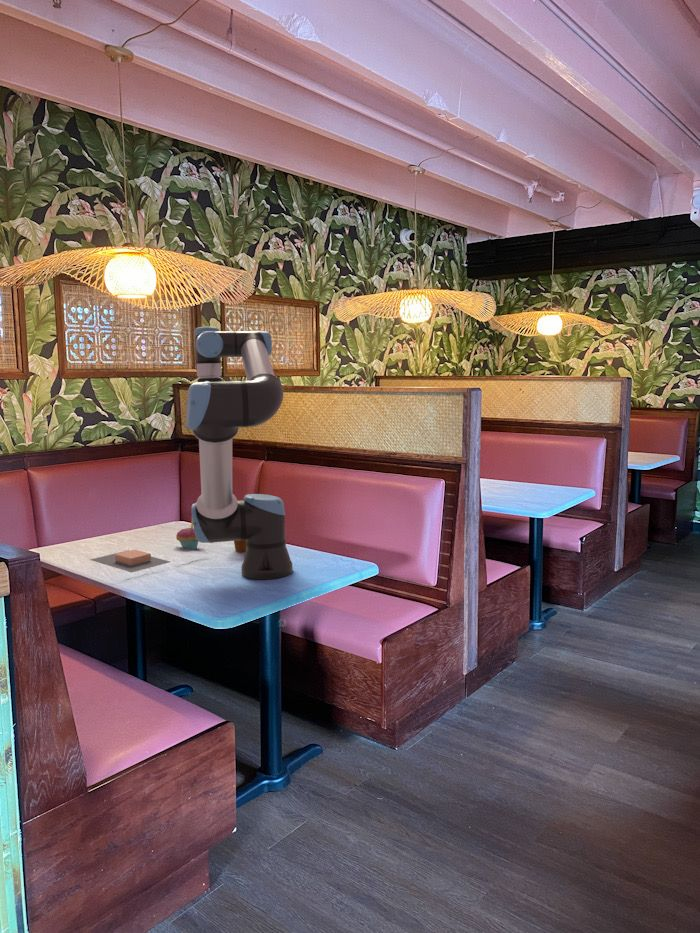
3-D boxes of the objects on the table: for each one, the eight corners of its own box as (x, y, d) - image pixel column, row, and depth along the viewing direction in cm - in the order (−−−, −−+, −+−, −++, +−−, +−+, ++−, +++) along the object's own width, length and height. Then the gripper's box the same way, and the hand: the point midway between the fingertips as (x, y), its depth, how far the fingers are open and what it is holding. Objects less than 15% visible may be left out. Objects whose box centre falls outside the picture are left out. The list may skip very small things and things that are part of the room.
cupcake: (204, 545, 240) (203, 511, 238) (199, 551, 231) (197, 516, 230) (180, 545, 240) (178, 512, 238) (173, 552, 231) (171, 517, 230)
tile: (135, 556, 222) (151, 561, 216) (115, 561, 217) (131, 566, 211) (134, 549, 222) (150, 553, 216) (114, 554, 217) (130, 558, 211)
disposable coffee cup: (242, 545, 239) (241, 511, 237) (264, 548, 234) (263, 513, 232) (224, 551, 231) (222, 516, 229) (246, 554, 226) (245, 518, 224)
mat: (171, 564, 216) (171, 561, 216) (131, 575, 205) (131, 572, 205) (128, 553, 231) (128, 550, 231) (89, 562, 220) (89, 559, 220)
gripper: (232, 376, 213) (236, 452, 216) (206, 377, 222) (209, 450, 225) (213, 377, 208) (217, 455, 211) (186, 378, 216) (191, 452, 219)
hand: (213, 452), depth 218 cm, fingers closed
